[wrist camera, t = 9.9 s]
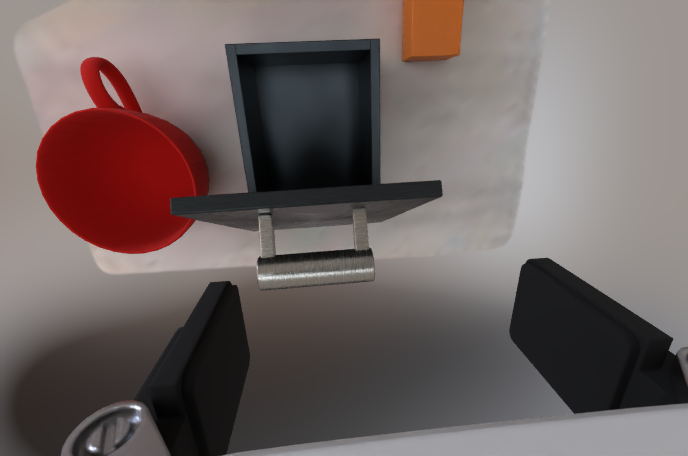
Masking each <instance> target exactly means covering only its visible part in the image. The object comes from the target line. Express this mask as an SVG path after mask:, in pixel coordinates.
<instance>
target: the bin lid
mask: <svg viewBox="0 0 688 456" xmlns="http://www.w3.org/2000/svg"><path fill="white" fill-rule="evenodd" d="M442 195H443V194H442V183H441V181H440V180H436V181H420V182H405V183H390V184H374V185H359V186H343V187H328V188H313V189H297V190H282V191H267V192H251V193H236V194H221V195H205V196H190V197H174V198H170V209H171V215H175V216H180V217H185V218H190V219H195V220H200V221H204V222H209V223H214V224H219V225H224V226H229V227H234V228H239V229H244V230H249V231H259V235H260V251H261V256H260V257H259V258H258V260H257V282H258V286H259V288H260V290H275V289H287V288H299V287H310V286H322V285H334V284H346V283H357V282H369V281H374V277H375V265H374V257H373V252H372V250H371V248H369V244H368V231H367V223H376V222H382V221H385V220H387V219H390V218H392V217H394V216H397V215H399V214H401V213H404V212H406V211H408V210H411V209H413V208H416V207H418V206H420V205H423V204H425V203H427V202H430V201H432V200H435V199H437V198H439V197H442ZM348 224H353V233H354V246H355V249H348V250H335V251H322V252H310V253H297V254H284V255H276V249H275V234H274V230H280V229H293V228H307V227H321V226H335V225H348Z"/></svg>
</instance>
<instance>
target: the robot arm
mask: <svg viewBox="0 0 688 456" xmlns="http://www.w3.org/2000/svg"><path fill="white" fill-rule="evenodd" d="M509 331H510V336H511V339H512V340H513V342H514V343H515V344H516V345H517V347H518V348H519V349H520V350H521V351H522V352H523V354H524V355H525V356H526V357H527V358H528V360H529V361H530V362H531V363H532V364H533V365H534V367H535V368H536V369H537V370H538V371H539V372H540V374H541V375H542V376H543V377H544V378H545V380H546V381H547V382H548V383H549V384H550V386H551V387H552V388H553V389H554V390H555V391H556V393H557V394H558V395H559V396H560V397H561V398H562V400H563V401H564V402H565V403H566V404H567V406H568V407H569V408H570V409H571V410H572V411H573V413H574V414H568V415H558V416H549V417H539V418H529V419H520V420H511V421H503V422H493V423H483V424H474V425H465V426H456V427H446V428H437V429H428V430H420V431H411V432H401V433H393V434H384V435H375V436H367V437H358V438H350V439H340V440H332V441H323V442H315V443H307V444H299V445H291V446H284V447H277V448H268V449H261V450H253V451H246V452H239V453H234V454H227V455H226V453H227V450H228V445H229V442H230V438H231V434H232V430H233V426H234V422H235V418H236V414H237V410H238V406H239V403H240V399H241V395H242V390H243V386H244V382H245V379H246V375H247V371H248V367H249V361H250V353H249V347H248V341H247V336H246V330H245V325H244V319H243V313H242V309H241V302H240V297H239V291H238V287H237V285H232V284H231V282H230V281H222V282H211V283H210V284H209V285H208V287H207V288H206V290H205V292H204V294H203V295H202V297H201V299H200V300H199V302H198V303H197V305H196V307H195V308H194V310H193V312H192V313H191V315H190V317H189V318H188V320H187V322H186V323H185V325H184V327H181V328H179V329H178V330H177V332H176V333H175V334H174V336H173V337H172V339H171V341H170V342H169V344H168V346H167V347H166V349H165V350H164V352H163V354H162V355H161V357H160V358H159V360H158V362H157V363H156V365H155V366H154V368H153V370H152V371H151V373H150V375H149V376H148V378H147V379H146V381H145V383H144V384H143V386H142V387H141V389H140V391H139V392H138V394H137V396H136V397H135V399H134V400H129V401H122V402H118V403H114V404H112V405H109V406H107V407H105V408H103V409H100V410H99V411H97V412H96V413H94V414H92V415H91V416H89V417H88V418H87V419H86V420H84V421H83V422H82V423H81V424H80V425H79V426H78V427H76V429H75V430H74V431H73V432H72V433H71V435H70V436H69V437H68V438H67V440H66V442H65V444H64V446H63V448H62V453H61V456H688V347H684V348H681V349H680V350H679V351H678V352H677V354H676V355H674V354H673V353H671V352H670V351H668V350H669V347H670V345H671V343H672V341H673V338H672V337H670V336H668V335H667V334H665V333H664V332H662V331H661V330H659V329H658V328H656V327H655V326H653V325H652V324H650V323H648V322H647V321H645V320H644V319H642V318H640V317H639V316H638V315H636V314H634V313H633V312H631V311H630V310H628V309H627V308H625V307H624V306H622V305H621V304H619V303H617V302H616V301H614V300H613V299H611V298H610V297H608V296H607V295H605V294H603V293H602V292H600V291H599V290H597V289H596V288H594V287H593V286H591V285H589V284H588V283H586V282H585V281H583V280H582V279H580V278H579V277H577V276H576V275H574V274H573V273H571V272H569V271H568V270H566V269H564V268H563V267H562V266H560V265H559V264H557V263H555V262H554V261H552V260H551V259H549V258H538V259H529V260H527V262H526V263H525V264H524V265H522V267H521V271H520V277H519V282H518V287H517V292H516V298H515V303H514V308H513V313H512V319H511V324H510V330H509Z"/></svg>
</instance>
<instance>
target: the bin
mask: <svg viewBox="0 0 688 456" xmlns="http://www.w3.org/2000/svg"><path fill="white" fill-rule="evenodd" d="M225 48H226V55H227V61H228V67H229V74H230V80H231V86H232V92H233V99H234V105H235V111H236V118H237V124H238V130H239V136H240V143H241V149H242V155H243V162H244V168H245V174H246V180H247V187H248V193H251V192H267V191H282V190H297V189H313V188H328V187H343V186H359V185H374V184H380V39H358V40H330V41H302V42H273V43H245V44H225Z"/></svg>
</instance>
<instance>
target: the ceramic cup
mask: <svg viewBox="0 0 688 456" xmlns="http://www.w3.org/2000/svg"><path fill="white" fill-rule="evenodd" d="M99 70H100V71H101V72H102V73H103V74H104V75H105V76H106V77H107V78H108V80H109V81H110V82H111V84H112V85H113V87H114V89H115V90H116V92H117V94H118V96H119V98H120V99H121V101H122V103H123V105H124V107H125V108H123V107H121V106H119V105H118V104H117V103H116V102H115V101H114V100H113V99H112V98H111V97H110V95H109V94H108V92H107V91H106V89H105V87H104V85H103V83H102V80H101V77H100V72H99ZM81 76H82V80H83V83H84V85H85V87H86V90H87V92H88V93H89V95H90V97H91V99H92V100H93V102H94V103H95V105H96V106H97V108H90V109H85V110H81V111H76V112H74V113H71V114H69V115H67V116H65V117H63V118H61V119H60V120H59V121H57V122H56V123H55V124H54V125H52V126H51V127H50V129H49V130H48V131H47V133H46V134H45V135H44V137H43V138H42V140H41V143H40V146H39V149H38V151H37V160H36V172H37V180H38V183H39V186H40V189H41V192H42V195H43V197H44V199H45V200H46V202H47V204H48V206H49V207H50V209H51V210H52V211H53V213H54V214H55V215H56V216H57V218H58V219H59V220H60V221H61V222H62V223H63V224H64V225H65V226H66V227H67V228H69V229H70V230H71V231H72V232H73V233H75V234H76V235H78V236H79V237H81V238H82V239H84V240H85V241H87V242H89V243H91V244H94V245H96V246H98V247H100V248H103V249H107V250H110V251H114V252H120V253H127V254H140V253H147V252H152V251H157V250H159V249H162V248H164V247H166V246H169V245H170V244H172V243H173V242H175V241H176V240H177V239H179V238H180V237H181V236H182V235H183V234H184V233H185V232H186V231H187V230H188V229H189V228H190V227H191V226H192V224H193V223H194V222H195V219H190V218H185V217H180V216H175V215H171V209H170V198H174V197H190V196H205V195H208V191H209V173H208V167H207V165H206V162H205V159H204V157H203V155H202V153H201V151H200V150H199V148H198V147H197V145H196V144H195V143H194V142H193V141H192V139H191V138H190V137H189V136H188V135H186V134H185V133H184V132H183V131H182V130H181V129H179V128H177V127H176V126H174V125H173V124H171V123H169V122H168V121H165V120H163V119H160V118H158V117H155V116H153V115H150V114H146V113H142V110H141V108H140V106H139V104H138V102H137V100H136V97H135V95H134V93H133V92H132V90H131V88H130V86H129V84H128V83H127V81H126V79H125V78H124V76H123V75H122V74H121V72H120V71H119V70H118V69H117V68H116V67H115V66H114V65H113V64H112V63H110V62H109V61H107V60H106V59H103V58H99V57H91V58H87V59H85V60H84V61H83V62H82V64H81Z"/></svg>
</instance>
